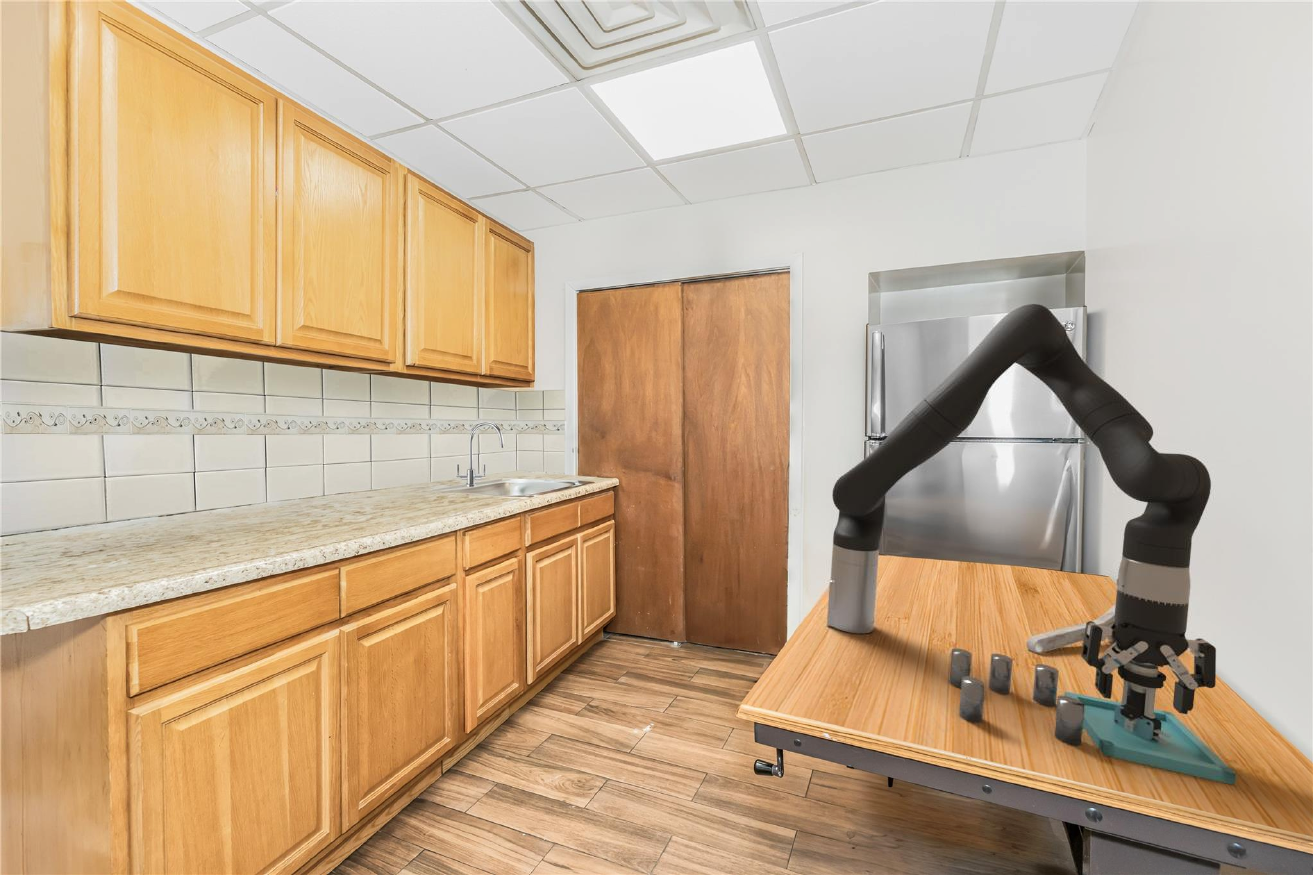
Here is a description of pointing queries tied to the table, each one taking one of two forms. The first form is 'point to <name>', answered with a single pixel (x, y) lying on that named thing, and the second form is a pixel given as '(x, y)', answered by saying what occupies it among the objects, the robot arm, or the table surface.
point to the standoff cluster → (1000, 682)
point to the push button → (1140, 700)
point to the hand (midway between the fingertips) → (1141, 703)
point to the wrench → (1068, 634)
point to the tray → (1152, 742)
